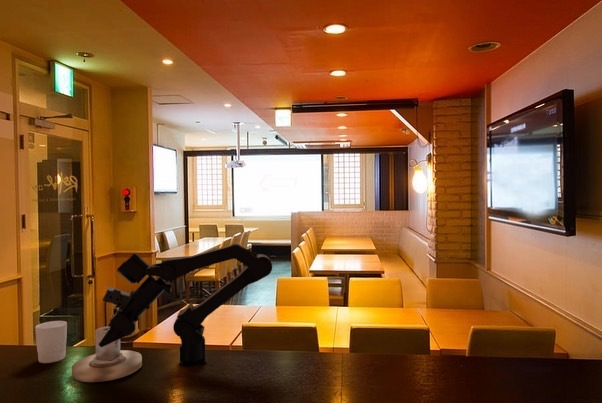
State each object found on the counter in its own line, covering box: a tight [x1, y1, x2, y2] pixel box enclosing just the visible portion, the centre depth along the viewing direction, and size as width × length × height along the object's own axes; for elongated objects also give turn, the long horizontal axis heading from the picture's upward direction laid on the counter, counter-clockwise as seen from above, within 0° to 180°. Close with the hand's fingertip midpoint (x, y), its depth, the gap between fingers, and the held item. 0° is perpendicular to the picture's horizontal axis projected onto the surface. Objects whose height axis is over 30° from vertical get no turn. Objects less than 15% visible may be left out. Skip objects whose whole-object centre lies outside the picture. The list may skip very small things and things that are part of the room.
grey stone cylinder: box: [93, 325, 123, 366], centre depth 116 cm, size 7×7×9 cm
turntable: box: [71, 349, 143, 383], centre depth 116 cm, size 17×17×2 cm
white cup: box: [34, 320, 68, 364], centre depth 125 cm, size 8×8×10 cm
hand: (101, 341), depth 115 cm, fingers open, 8 cm apart
